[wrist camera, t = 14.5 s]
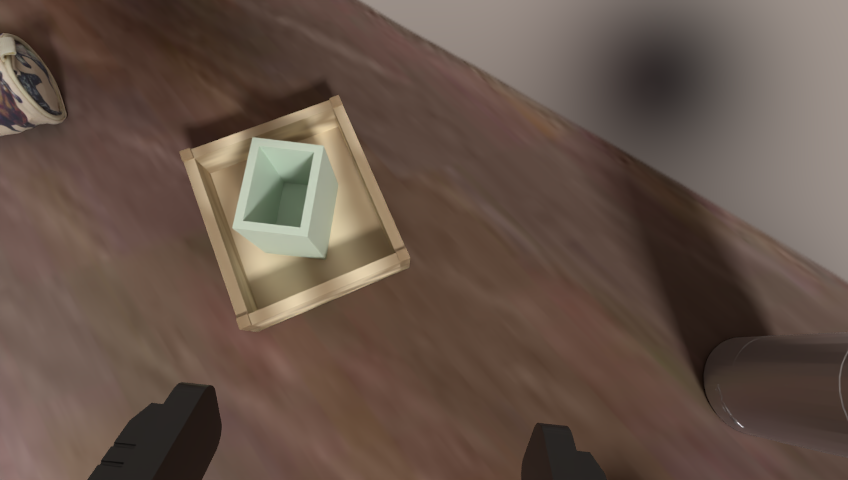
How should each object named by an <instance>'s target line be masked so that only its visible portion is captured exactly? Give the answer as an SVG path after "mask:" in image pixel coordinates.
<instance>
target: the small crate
mask: <svg viewBox="0 0 848 480" xmlns="http://www.w3.org/2000/svg"><path fill="white" fill-rule="evenodd" d="M337 191H338V182H337V180H336V177H335V174H334V172H333V169H332V166H331V164H330V161H329V158H328V156H327V153H326V150H325V148H324V146H322V145H314V144H305V143H297V142H288V141H280V140H272V139H263V138H255V137H252V142H251V146H250V151H249V155H248V159H247V164H246V168H245V173H244V177H243V182H242V186H241V191H240V195H239V200H238V204H237V209H236V213H235V218H234V222H233V227H232V228H233V229H234V230H235V231H237V232H238V233H239V234H241V235H242V236H243V237H245V238H246V239H247V240H249V241H250V242H252V243H253V244H254V245H256V246H257V247H258V248H260V249H261V250H262V251H264V252H265V253H271V254H279V255H288V256H297V257H306V258H315V259H323V260H326V257H327V251H328V245H329V239H330V233H331V227H332V221H333V215H334V209H335V203H336V197H337Z"/></svg>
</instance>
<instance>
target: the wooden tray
mask: <svg viewBox="0 0 848 480" xmlns="http://www.w3.org/2000/svg"><path fill="white" fill-rule="evenodd" d="M252 137H255V138H263V139H272V140H280V141H288V142H297V143H305V144H314V145H322V146H324V148H325V150H326V153H327V156H328V158H329V161H330V164H331V166H332V169H333V172H334V174H335V177H336V180H337V182H338V191H337V197H336V203H335V209H334V215H333V221H332V227H331V233H330V239H329V245H328V251H327V257H326V260H323V259H315V258H306V257H297V256H288V255H279V254H271V253H265V252H264V251H262V250H261V249H260V248H258V247H257V246H256V245H254V244H253V243H252V242H250V241H249V240H247V239H246V238H245V237H243V236H242V235H241V234H239V233H238V232H237V231H235V230H234V229H233V228H232V227H233V222H234V218H235V213H236V209H237V204H238V200H239V195H240V191H241V186H242V182H243V177H244V173H245V168H246V164H247V159H248V155H249V151H250V146H251V142H252ZM179 153H180V156H181V159H182V161H183V162H184V164H185V167H186V170H187V173H188V176H189V179H190V182H191V185H192V188H193V191H194V194H195V197H196V199H197V202H198V205H199V208H200V211H201V214H202V217H203V220H204V223H205V226H206V229H207V232H208V235H209V238H210V241H211V244H212V246H213V249H214V252H215V255H216V258H217V261H218V264H219V267H220V270H221V273H222V276H223V279H224V282H225V285H226V288H227V290H228V293H229V296H230V299H231V302H232V305H233V308H234V311H235V314H236V317H237V318H236V320H237V323H238V326H239V329H240V330H247V331H254V332H258V331H261V330H263V329H265V328H268V327H270V326H272V325H275V324H277V323H280V322H282V321H284V320H287V319H289V318H291V317H294V316H296V315H298V314H301V313H303V312H306V311H308V310H310V309H313V308H315V307H317V306H320V305H322V304H324V303H327V302H329V301H332V300H334V299H336V298H339V297H341V296H343V295H346V294H348V293H350V292H353V291H355V290H357V289H360V288H362V287H365V286H367V285H369V284H372V283H374V282H376V281H379V280H381V279H383V278H386V277H388V276H391V275H393V274H395V273H398V272H400V271H402V270H405V269H407V268H409V266H410V256H409V254H408V252H407V249H406V248H405V246H404V243H403V241H402V239H401V236H400V234H399V232H398V230H397V227H396V225H395V223H394V221H393V218H392V216H391V214H390V212H389V209H388V207H387V205H386V202H385V200H384V198H383V196H382V193H381V191H380V189H379V187H378V184H377V182H376V180H375V177H374V175H373V173H372V171H371V168H370V166H369V164H368V162H367V159H366V157H365V155H364V153H363V150H362V148H361V146H360V143H359V141H358V139H357V137H356V134H355V132H354V130H353V128H352V125H351V123H350V121H349V118H348V116H347V114H346V112H345V109H344V107H343V105H342V102H341V100H340V97H339V95H337V96H334V97H331V98H329V100H328V101H325V102H323V103H320V104H317V105H314V106H311V107H309V108H306V109H303V110H300V111H297V112H295V113H292V114H289V115H286V116H283V117H280V118H278V119H275V120H272V121H269V122H266V123H264V124H261V125H258V126H255V127H252V128H250V129H247V130H244V131H241V132H238V133H236V134H233V135H230V136H227V137H224V138H222V139H219V140H216V141H213V142H210V143H207V144H205V145H202V146H199V147H196V148H193V149H190V148H188V149H185V150H182V151H180V152H179Z"/></svg>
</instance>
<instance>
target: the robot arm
mask: <svg viewBox="0 0 848 480" xmlns="http://www.w3.org/2000/svg"><path fill="white" fill-rule="evenodd" d="M704 387H705V391H706V395H707V398H708V400H709V402H710V404H711V406H712V408H713V409H714V411H715V412H716V414H717V415H718V416H719V417H720V418H721V419H722V420H723V421H724V422H725V423H726V424H728V425H729V426H730V427H732V428H733V429H735V430H737V431H740V432H742V433H745V434H749V435H753V436H758V437H762V438H766V439H770V440H774V441H778V442H782V443H786V444H790V445H795V446H799V447H803V448H807V449H812V450H816V451H820V452H824V453H829V454H833V455H837V456H842V457H846V458H848V332H842V333H821V334H800V335H780V336H755V337H737V338H732V339H728V340H726V341H724V342H722V343H720V344H719V345H718V346H717V347H715V348H714V349H713V351H712V352H711V354H710V355H709V356H708V359H707V361H706V364H705V369H704ZM221 429H222V425H221V419H220V413H219V408H218V403H217V397H216V392H215V388H214V387H213V386H211V385H202V384H193V383H184V382H181V383H179V384H178V385H176V387H175V388H174V389H173V390H172V392H171V393H170V395H169V396H168V398H167V399H166V401H165V402H164V404H157V403H151V404H150V405H149V406H147V407H146V408H145V409H144V410H142V411H141V412H140V413H139V414H137V415H136V416H135V417H134V418H132V419H131V420H130V421H129V422H128V424H127V425H126V426H125V428H124V429H123V431H122V432H121V433H120V435H119V436H118V438H117V439H116V440H115V442H114V446H113V447H110V449H109V450H108V452H107V453H106V454H105V456H104V457H103V459H102V460H101V464H100V465H98V466H97V467H96V468H95V470H94V471H93V473H92V474H91V475H90V477H89V478H88V480H202V478H203V476H204V474H205V472H206V470H207V468H208V466H209V464H210V462H211V460H212V458H213V456H214V454H215V452H216V449H217V447H218V444H219V440H220V436H221ZM521 480H607V479H606V476H605V473H604V472H603V471H602V469H601V468H600V466H599V465H598V463H597V462H596V460H595V459H594V458H593V456H592V455H591V453H590V452H582V451H577V450H576V447H575V443H574V439H573V436H572V433H571V430H570V429H569V427H568V426H561V425H552V424H543V423H537V424H536V425H535V427H534V430H533V433H532V436H531V438H530V441H529V444H528V446H527V449H526V452H525V455H524V458H523V461H522V470H521Z"/></svg>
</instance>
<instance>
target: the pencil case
mask: <svg viewBox="0 0 848 480" xmlns="http://www.w3.org/2000/svg"><path fill="white" fill-rule="evenodd" d="M66 116H67V113H66V110H65V106H64V103H63V100H62V97H61V94H60V91H59V88H58V86H57V83H56V82H55V80H54V78H53V76H52V74H51V72H50V70H49V69H48V67H47V66H46V64H45V63H44V62H43V61H42V59H41V58H40V57H39V56H38V55H37V53H36V52H35V51H34V50H33V49H32V48H31V47H30V46H29V45H28V44H27V43H26V42H25V41H24V40H22V39H21V38H19V37H17V36H15V35H12V34H8V33H2V34H0V137H1V136H4V135H9V134H17V133H21V132H23V131H25V130H27V129H31V128H34V127H36V126H37V125H39V124H46V123H49V124H58V123H61V122H63V121H64V120H65V118H66Z"/></svg>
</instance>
